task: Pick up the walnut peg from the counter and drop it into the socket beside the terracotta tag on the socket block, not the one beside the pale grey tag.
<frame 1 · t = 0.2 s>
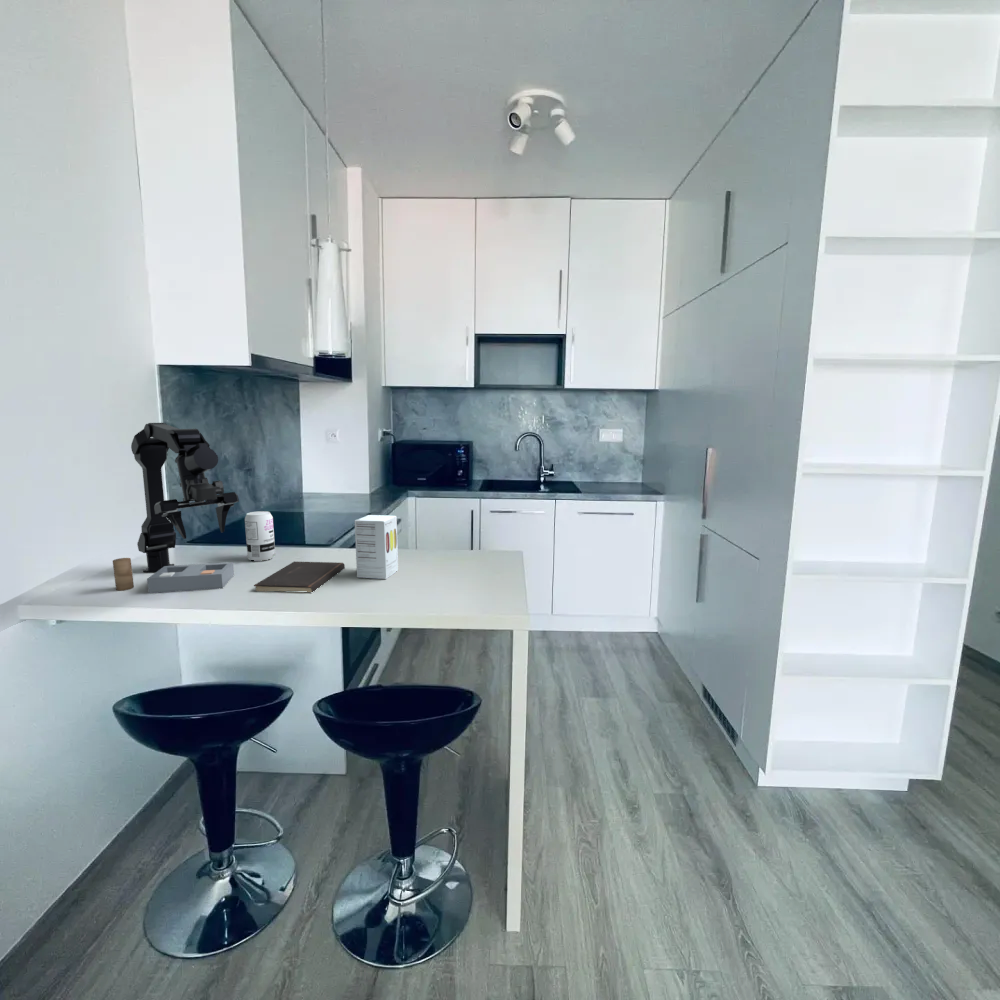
hand: (204, 535, 142), 15 cm above the table, tool pointing down, fingers open, 9 cm apart
supplement box: (378, 574, 160), on the table
supplement can: (261, 559, 178), on the table
walnut peg: (125, 588, 148), on the table
hardcover book: (302, 581, 156), on the table
socket block: (193, 583, 152), on the table
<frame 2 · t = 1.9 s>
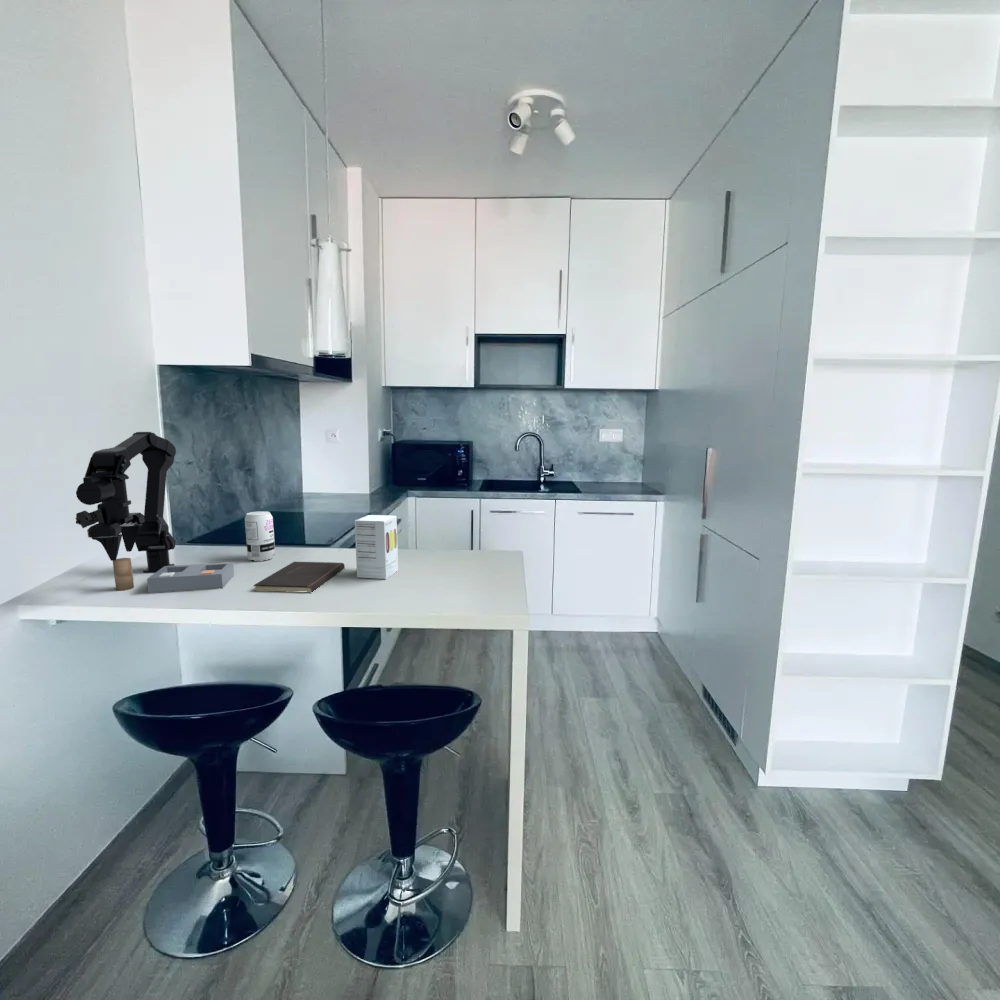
hand: (121, 555, 147), 9 cm above the table, tool pointing down, fingers open, 9 cm apart
nothing on the table moved.
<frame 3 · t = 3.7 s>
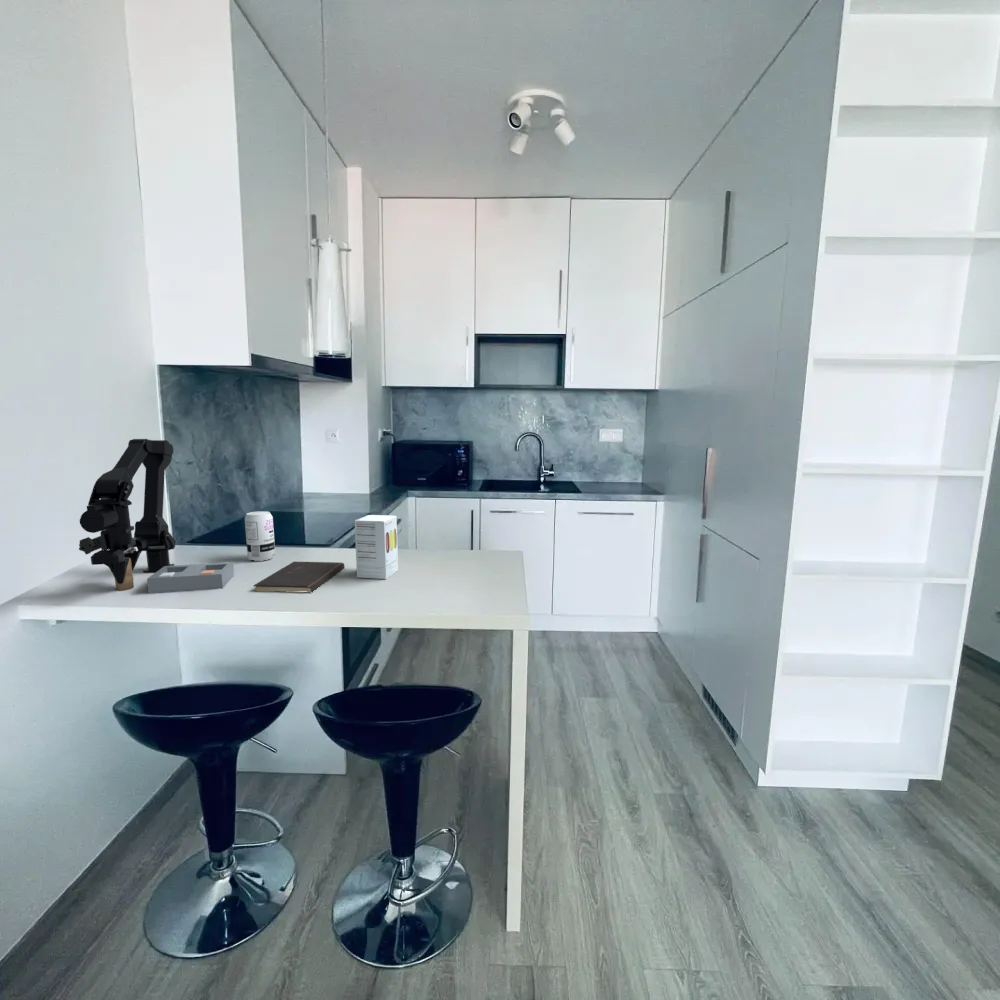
hand: (124, 581, 148), 2 cm above the table, tool pointing down, fingers closed on walnut peg, 4 cm apart
walnut peg: (125, 588, 148), on the table, touching gripper
everything else where it was.
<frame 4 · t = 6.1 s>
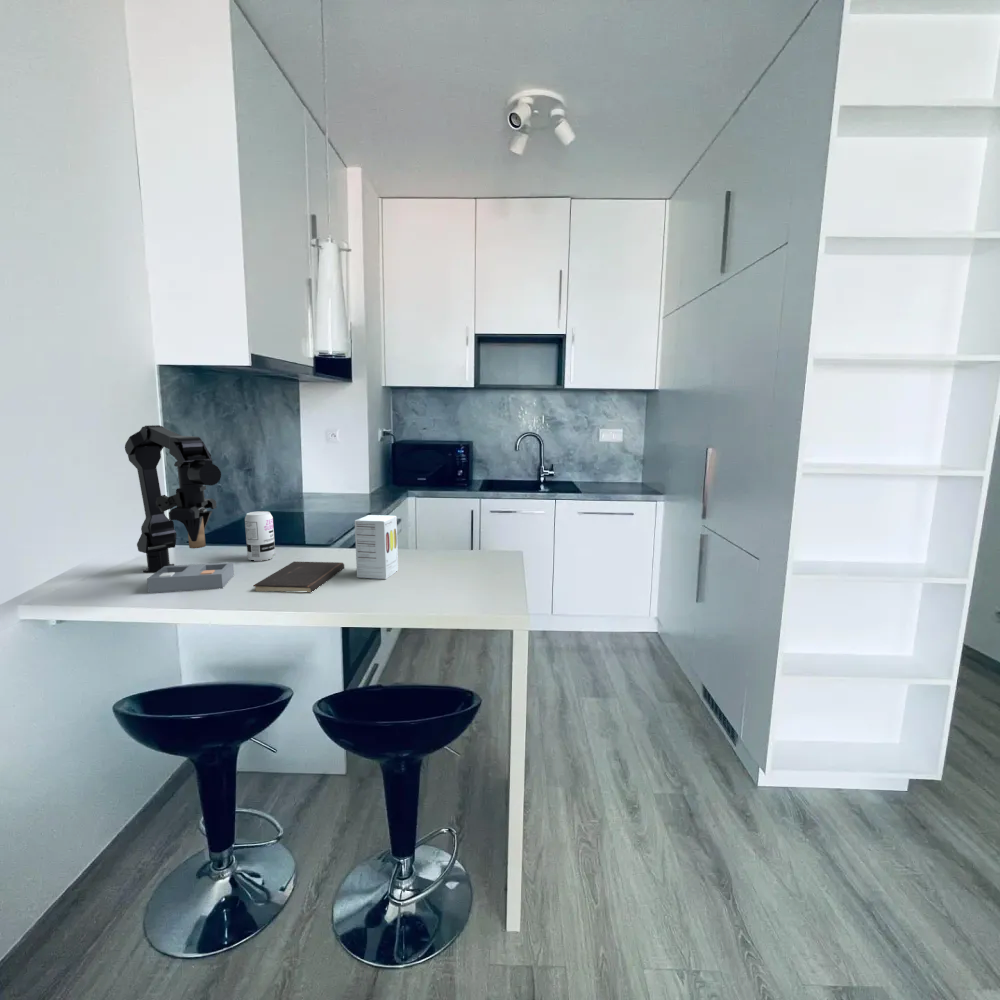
hand: (197, 539, 151), 12 cm above the table, tool pointing down, fingers closed on walnut peg, 4 cm apart
walnut peg: (197, 546, 151), point 10 cm above the table, touching gripper
everything else where it was.
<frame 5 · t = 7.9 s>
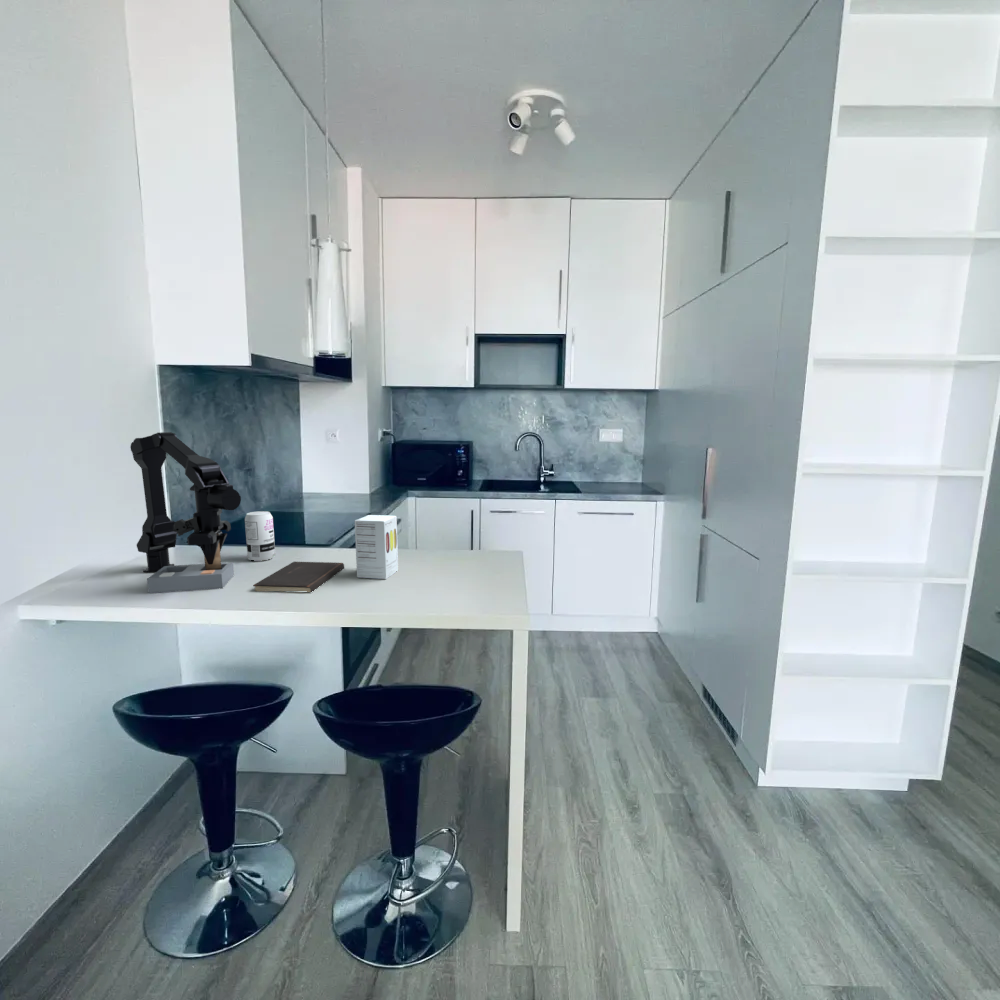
hand: (212, 562, 153), 5 cm above the table, tool pointing down, fingers closed on walnut peg, 4 cm apart
walnut peg: (213, 569, 154), point 3 cm above the table, touching gripper
everything else where it was.
when the fingers open (4 cm above the table, at t = 8.9 s): walnut peg drops 2 cm, resting in socket block.
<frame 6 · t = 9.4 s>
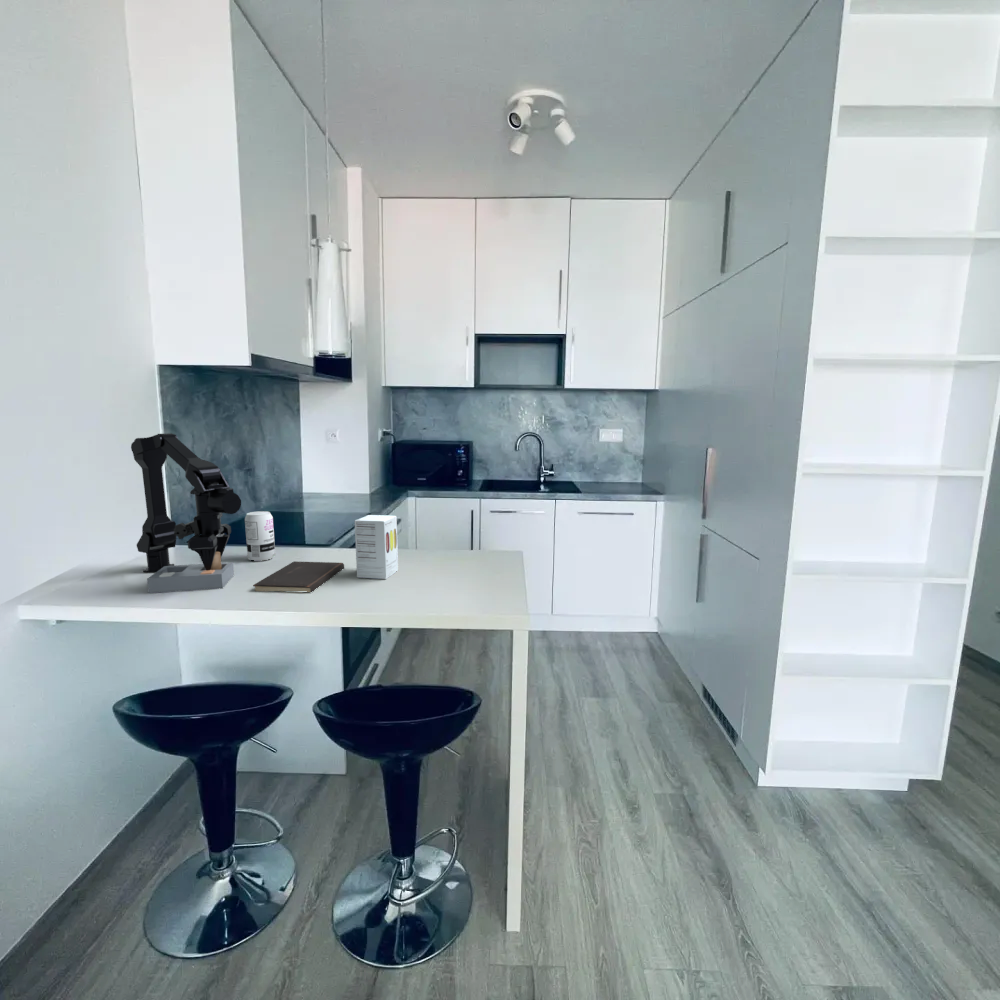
hand: (213, 565, 154), 4 cm above the table, tool pointing down, fingers open, 9 cm apart
walnut peg: (214, 580, 154), resting in socket block
everything else where it was.
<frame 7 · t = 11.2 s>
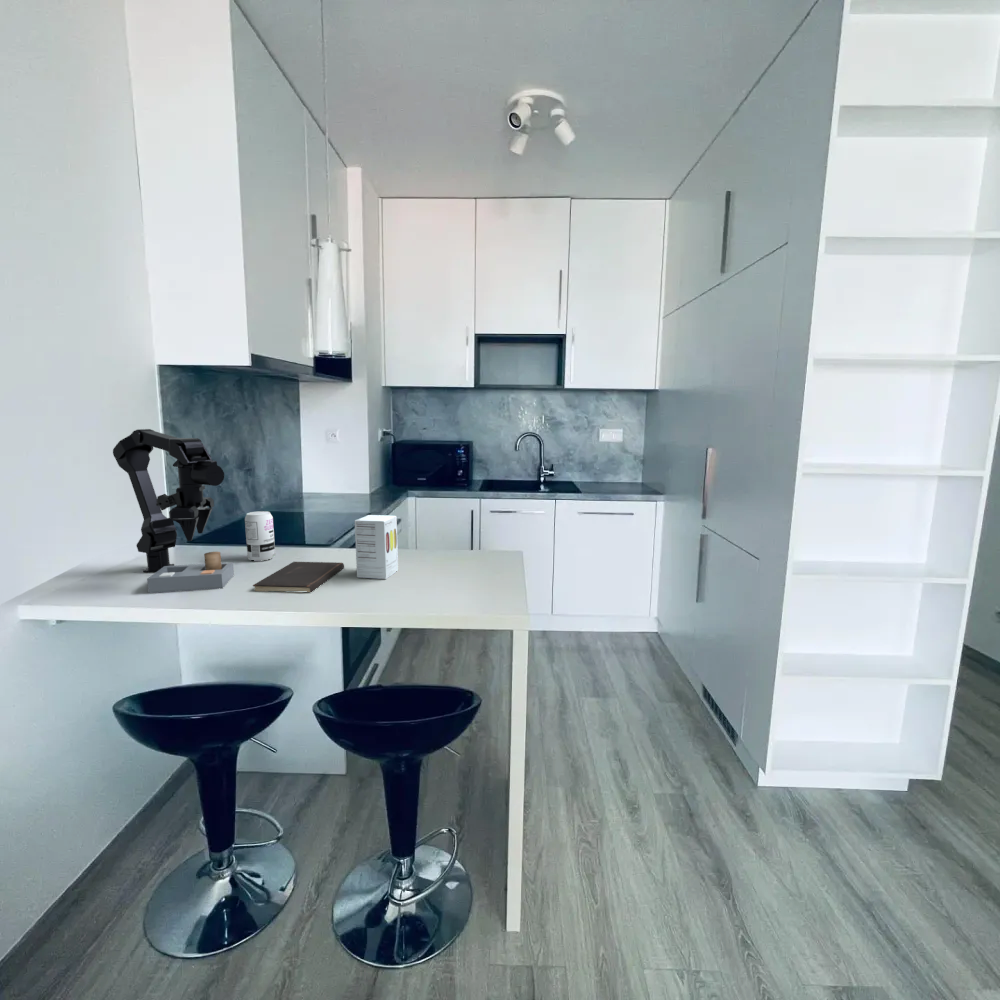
hand: (195, 537, 157), 12 cm above the table, tool pointing down, fingers open, 9 cm apart
nothing on the table moved.
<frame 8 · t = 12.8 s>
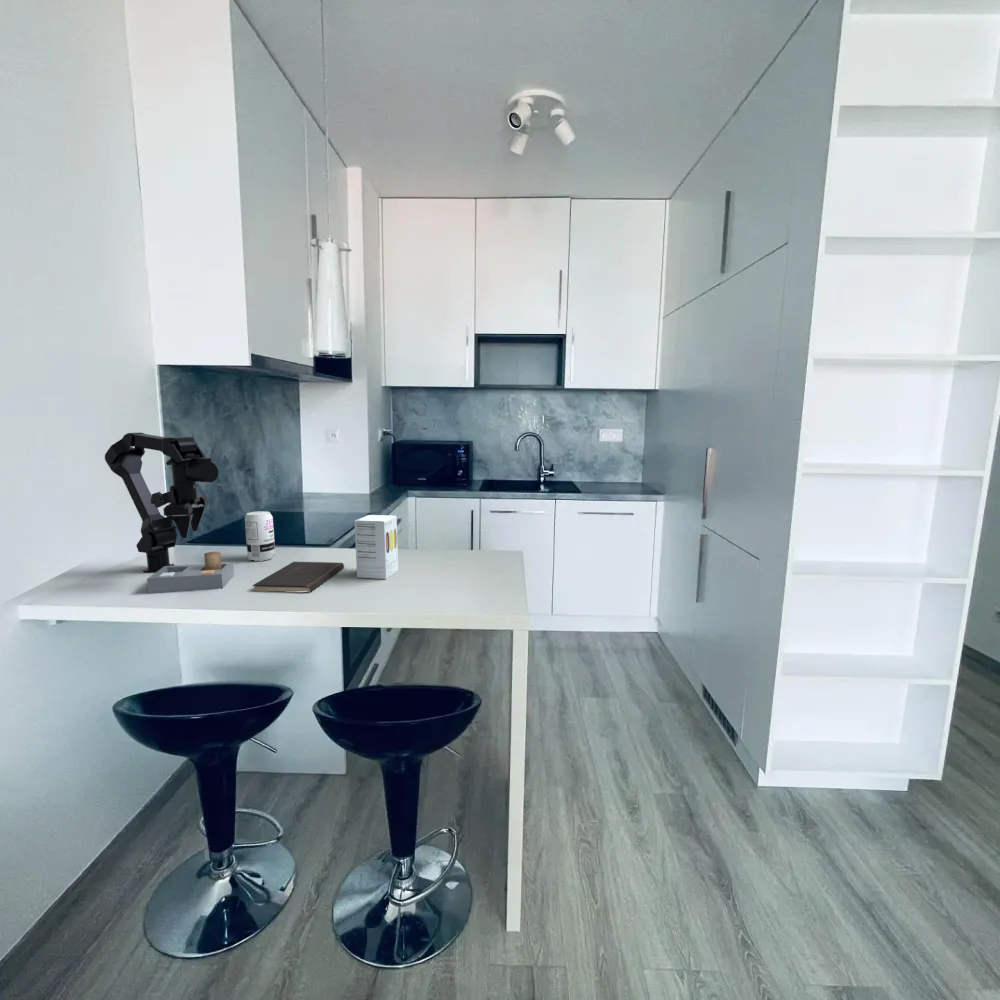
hand: (189, 534, 159), 12 cm above the table, tool pointing down, fingers open, 9 cm apart
nothing on the table moved.
at the end: walnut peg 0.1 cm from the target spot on the socket block, point 0.0 cm above the socket block's base; walnut peg tilted 0°; the gripper is holding nothing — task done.
